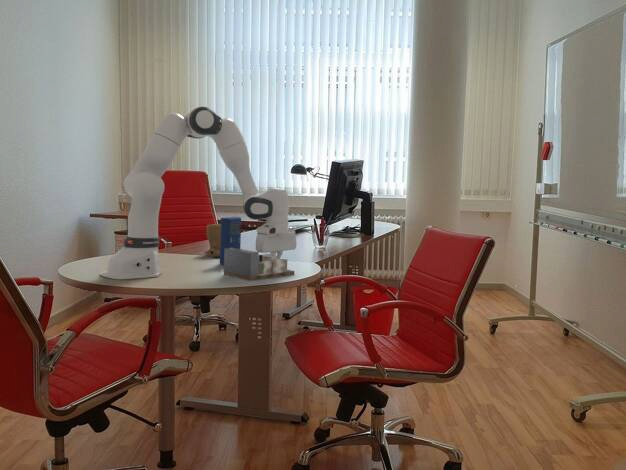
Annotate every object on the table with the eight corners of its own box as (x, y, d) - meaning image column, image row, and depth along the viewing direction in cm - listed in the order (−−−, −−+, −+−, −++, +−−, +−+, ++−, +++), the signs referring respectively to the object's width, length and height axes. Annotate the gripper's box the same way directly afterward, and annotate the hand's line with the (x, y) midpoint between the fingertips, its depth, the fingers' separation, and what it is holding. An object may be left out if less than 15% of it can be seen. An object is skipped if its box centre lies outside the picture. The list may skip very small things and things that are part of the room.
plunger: (269, 273, 250) (270, 257, 250) (249, 268, 258) (249, 253, 257) (280, 271, 255) (281, 255, 254) (259, 267, 262) (260, 252, 262)
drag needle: (261, 261, 246) (261, 255, 246) (259, 261, 247) (259, 254, 246) (262, 261, 246) (262, 255, 246) (260, 260, 247) (260, 254, 247)
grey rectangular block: (250, 277, 242) (251, 253, 241) (223, 271, 252) (224, 248, 251) (258, 275, 245) (258, 252, 244) (231, 270, 255) (232, 247, 254)
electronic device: (228, 265, 276) (229, 218, 273) (218, 264, 278) (219, 217, 276) (241, 263, 284) (242, 217, 282) (231, 261, 286) (232, 216, 284)
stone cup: (213, 252, 313) (213, 221, 311) (235, 254, 309) (236, 223, 307) (197, 256, 298) (198, 223, 297) (220, 258, 294) (221, 225, 293)
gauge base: (250, 280, 242) (250, 263, 241) (223, 275, 252) (224, 258, 251) (294, 274, 260) (294, 258, 259) (268, 269, 270) (268, 253, 269)
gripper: (289, 226, 271) (288, 259, 272) (253, 228, 256) (252, 263, 257) (300, 227, 267) (299, 261, 268) (264, 230, 252) (263, 265, 253)
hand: (276, 262), depth 263 cm, fingers closed
